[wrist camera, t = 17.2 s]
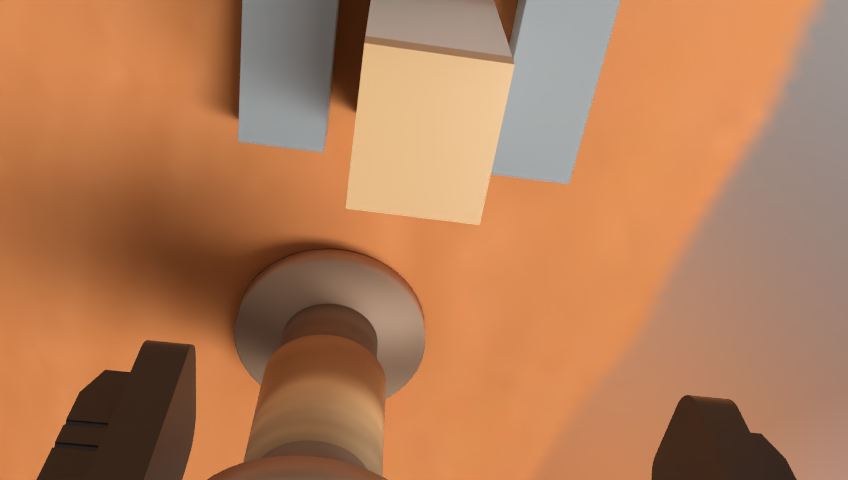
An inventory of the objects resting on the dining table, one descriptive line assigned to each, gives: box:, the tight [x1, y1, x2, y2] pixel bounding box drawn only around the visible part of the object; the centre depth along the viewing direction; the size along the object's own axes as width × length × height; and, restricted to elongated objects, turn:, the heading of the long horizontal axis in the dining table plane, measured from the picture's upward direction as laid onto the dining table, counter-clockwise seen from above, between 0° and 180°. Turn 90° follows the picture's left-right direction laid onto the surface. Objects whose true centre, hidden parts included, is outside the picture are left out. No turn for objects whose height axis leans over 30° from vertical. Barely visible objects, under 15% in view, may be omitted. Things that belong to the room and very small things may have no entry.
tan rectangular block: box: [345, 0, 515, 225], centre depth 25 cm, size 5×4×7 cm
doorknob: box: [208, 249, 425, 480], centre depth 29 cm, size 8×8×12 cm
